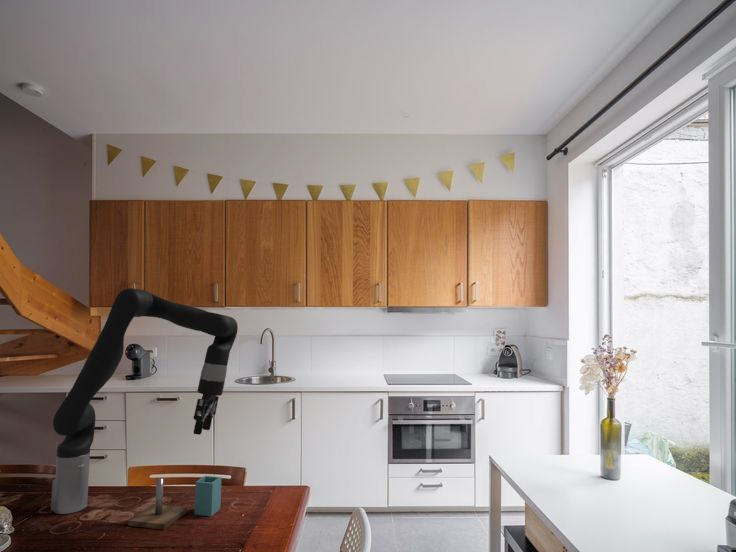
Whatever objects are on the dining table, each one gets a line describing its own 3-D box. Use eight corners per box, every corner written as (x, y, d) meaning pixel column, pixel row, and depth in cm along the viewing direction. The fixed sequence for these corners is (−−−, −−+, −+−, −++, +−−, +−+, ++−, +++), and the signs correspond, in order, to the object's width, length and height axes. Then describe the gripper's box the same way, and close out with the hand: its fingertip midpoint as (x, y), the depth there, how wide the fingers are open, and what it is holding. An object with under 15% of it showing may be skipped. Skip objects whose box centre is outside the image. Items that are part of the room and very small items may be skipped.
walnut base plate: (127, 525, 142) (128, 520, 143) (152, 508, 154) (153, 504, 154) (164, 529, 140) (164, 524, 140) (186, 512, 152) (187, 507, 152)
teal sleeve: (194, 514, 151) (195, 482, 151) (203, 507, 156) (205, 475, 157) (211, 516, 150) (212, 483, 150) (220, 508, 155) (221, 477, 156)
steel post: (153, 514, 147) (155, 479, 147) (157, 512, 148) (159, 477, 149) (159, 515, 146) (161, 480, 147) (163, 512, 148) (164, 477, 149)
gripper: (207, 375, 157) (197, 426, 154) (193, 377, 142) (181, 433, 140) (230, 379, 157) (220, 430, 154) (218, 381, 142) (206, 437, 140)
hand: (201, 431), depth 147 cm, fingers open, 8 cm apart
